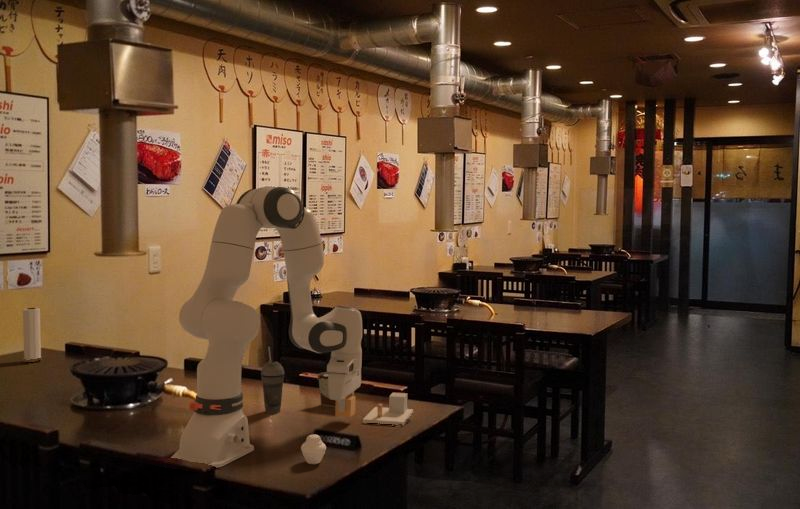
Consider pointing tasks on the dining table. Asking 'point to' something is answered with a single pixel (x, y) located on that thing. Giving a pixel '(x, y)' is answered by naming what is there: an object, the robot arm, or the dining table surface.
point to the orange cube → (347, 407)
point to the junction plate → (390, 411)
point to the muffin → (313, 449)
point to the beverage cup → (272, 385)
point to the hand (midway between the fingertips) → (345, 408)
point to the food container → (325, 390)
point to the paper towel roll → (31, 333)
